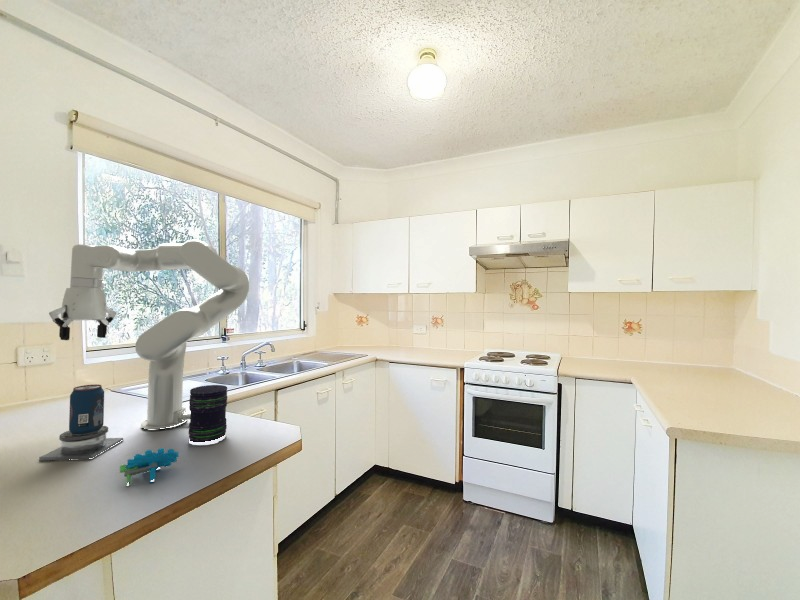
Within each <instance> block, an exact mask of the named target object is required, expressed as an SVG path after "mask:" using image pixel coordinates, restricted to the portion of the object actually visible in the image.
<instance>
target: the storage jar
mask: <svg viewBox="0 0 800 600" xmlns="http://www.w3.org/2000/svg"><path fill="white" fill-rule="evenodd" d="M189 393H190V394H189V403H188V404H189V407H188V408H189V412H190V419H189V420H190V422H189V423H188V440H189V439H190V441H193V442H205V441H211V440H215V439H218V438H220V437H222V436H224V435H225V434H226V433H227V429H228V428H227V426H228V425H227V418H226V417H227V416H226V415H227V414H226V412H227V409H226V408H227V406H228V387H227V386H226V385H223V384H222V385H220V384H209V385H207V384H206V385H201V386H197V387H193V388H191V389H190V390H189Z"/></svg>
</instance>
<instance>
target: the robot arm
mask: <svg viewBox="0 0 800 600" xmlns="http://www.w3.org/2000/svg"><path fill="white" fill-rule="evenodd" d="M70 262H71V264H70V265H71V266H70V285H69V286H70V287H66V289H65V290H64V291H65V292H64V295H63V298H62V303H61V307H59V308H57V309H54V310H52V311H49V313H48V315H49V317H50V318H51V319H52V322H53V323H55V324H56V326H58V327H59V331H58V332H59V338H60V340H62V341H69V340H70V335H71V328H70V324H71V323H72V322H73V321H96V322H97V324H98V325H97V329H96V330H97V335H96V337H97V338H101V339H105V338H106V336H107V332H108V331H107V329H108V326H109V325H110V323H112V321H113V320H114V318H115V317H116V315H117V311H115V310H113V309H111V308H108V307H107V297H106V293H105V289H103V287H106V286H107V282H106V281H104V280H103V277H104V276H103V275H104V274H103V273H104V269H105V270H106V269H107V270H113V271H120V272H127V273H128V272H130V273H133V272H153V271H154V272H155V271H156V272H157V271H176V270H193V271H194V272H195V273H197V274H198V275H199V276H200V277H202V278H203V279H204V280H205V281H207V282H208V283H209V284H211V285H212V286H213V287H215V288H217V289H218V290H217V292H215V293H214V294H212V295H210V296H208V297H207V298H206V299H204V300H202V301H201V302H200V303H199V304H197V305H195V306H193V307H189V308H188V307H187V308H182V309H178V310H176V311H174V312H172V313H171V314H169V315H167V316H165V318H163V319H161V320H160V321H159V322H157V323H156V324H154V325H152V327H150V328H149V329H147V330H145V331H144V332H143V333H141V335H139V337H137V340H136V341H135V347H134V348H135V353H136V354H137V356H138V357H140V358H141V359H142V360H145V361H147V362H149V365H148V366H149V367H148V381H147V384H148V386H147V414H146V415H147V416H146V419H145V420H143V421H142V422H141V424H140V428H141V427H142V428H145V429H160V428H166V427H170V426H174V425H177V424H179V423H182V422H184V421H185V420H187V421H188V420H190V411H187V410H186V407H185V406H184V407H183V398H184V397H183V393H184V392H183V391H184V390H183V388H184V387H183V386H184V363H185V356H186V350H187V342H189V341H191V340H192V339H194V338H197V337H199V336H202V335H204V334H205V333H207V332H208V331H209V330H210V329H212V328H213V327H215V326H216V325H218V323H221V321H223V320H225V318H227V317H229V315H231V314H232V313H233V312H235V311H236V310H238V309H239V307H240V306H242V305H243V304H244V302H245V300H246V299H247V297H248V294H249V291H250V282H249V277H248V275H247V274H246V272H245V271H244V270H243V269H242V268H240V267H238V266H235V265H233V264H231V263H230V262H228V261H227V260H225V258H223V257H222V256H221V255H220V254H218V252H217V250H216V248H214V246H212V245H211V244H209V243H207V242H205V241H202V240H199V239H191V240H186V241H185V242H184V243H162V244H159V245H158V246H157V247H155V248H150V249H149V248H148V249H147V248H145V249H128V248H124V247H121V246H117V245H111V244H107V245H104V244H102V245H91V244H81V243H80V244H75V245H73V247H72V250H71V261H70ZM107 314H108V316H107ZM59 315H60V317H61V318H60V317H59ZM182 420H184V421H182ZM142 428H141V429H142Z"/></svg>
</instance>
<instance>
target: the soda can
mask: <svg viewBox="0 0 800 600" xmlns="http://www.w3.org/2000/svg"><path fill="white" fill-rule="evenodd" d="M72 389H73V390H72V391H71V394H70V395H69V418H68V421H69V422H68V431H70V432H71V433H72V434H73V435H87V434H91V433H95V432H97V431H99V430H100V429H101V427H102V426H104V418H105V416H104V415H105V414H104V413H105V411H104V410H105V409H104V408H105V390H104V389H103V388H102V384H85V385H79V386H75V387H73V388H72Z"/></svg>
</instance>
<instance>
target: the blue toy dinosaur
mask: <svg viewBox="0 0 800 600" xmlns="http://www.w3.org/2000/svg"><path fill="white" fill-rule="evenodd" d="M178 458H179V452H178V451H175V449H174V448H169V449H168V450H167V452H165V447H163V448H158V449H157V452H154V451H153V450H152V449H148V450H145V451H144V454H141V453H136V454H134V455H133V458H129V459H127V461H126V462H127V464H121V465H119V473H122V474H123V473H124V476H123V477H125V478H126V479H125V481H126V482H127V483H128V482H130V483H131V477H132V476H136V475H140V474H145V473H144V472H146V473H148V472H147V471H149V481H150V480H153V479H155V480H156V469H157V468H158V467H160V466H161V467H165V468H167V467H166V466H169V467H170V466H171V465H172V463H176V462H177V459H178ZM126 482H125V483H126Z"/></svg>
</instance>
